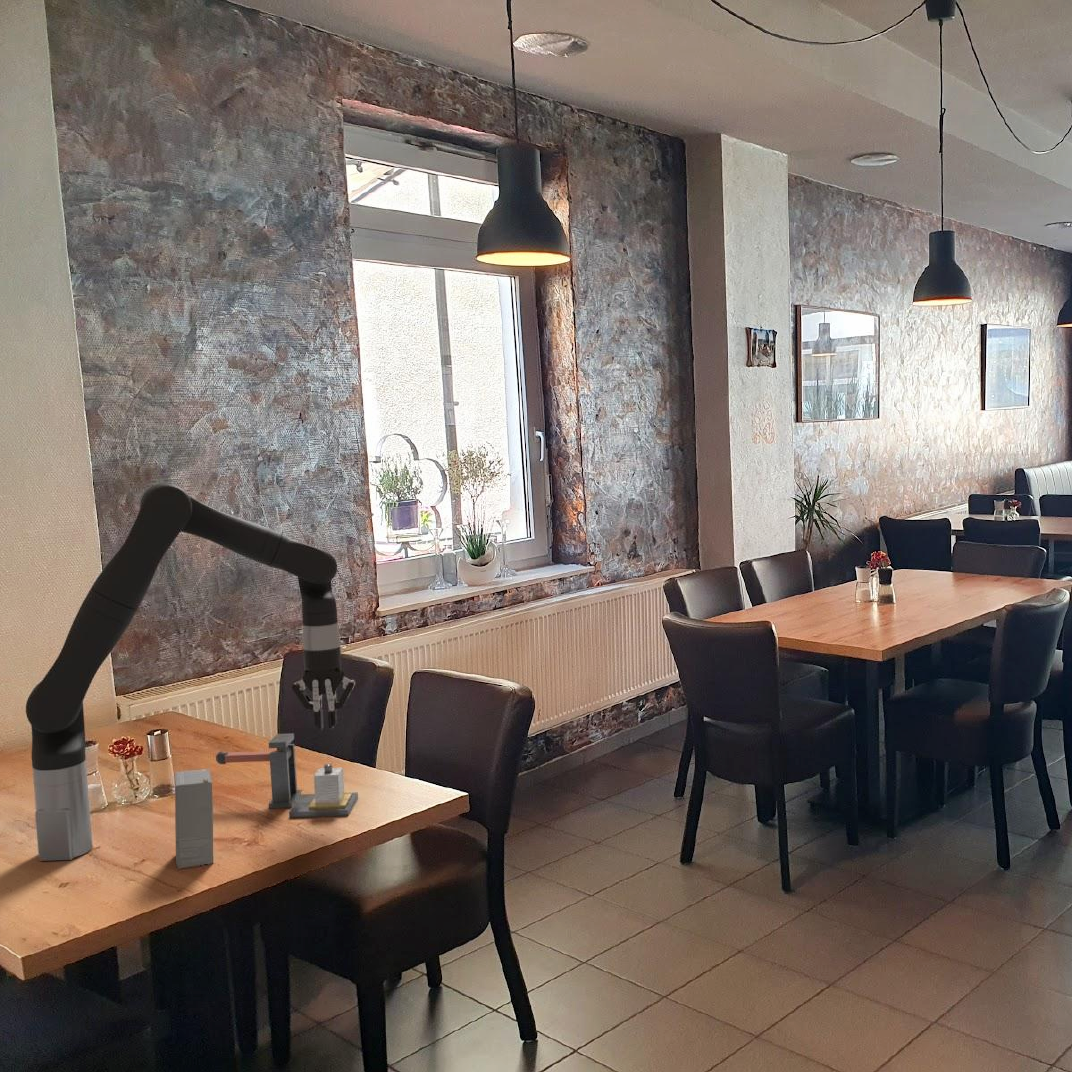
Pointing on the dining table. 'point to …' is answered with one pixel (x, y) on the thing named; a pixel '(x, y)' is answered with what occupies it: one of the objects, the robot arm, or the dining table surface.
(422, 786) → the dining table surface
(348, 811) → the press bed
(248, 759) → the press lever
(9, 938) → the dining table surface
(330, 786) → the block
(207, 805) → the skincare box
